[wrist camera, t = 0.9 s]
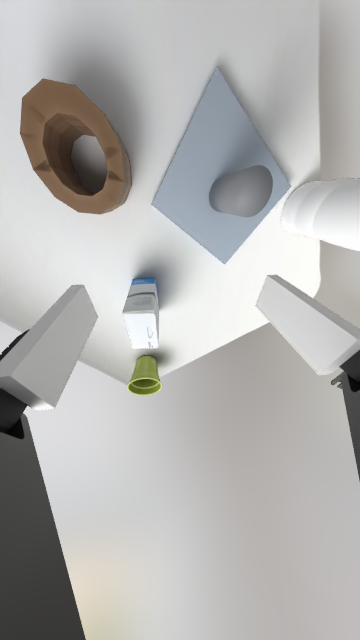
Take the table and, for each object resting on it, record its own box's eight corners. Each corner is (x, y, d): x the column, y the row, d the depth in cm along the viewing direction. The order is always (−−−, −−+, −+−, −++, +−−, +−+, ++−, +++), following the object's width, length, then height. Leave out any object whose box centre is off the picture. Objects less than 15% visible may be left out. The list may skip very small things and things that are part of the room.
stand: (151, 204, 23) (147, 207, 15) (212, 75, 17) (267, -51, 8) (222, 261, 30) (246, 286, 22) (284, 186, 24) (354, 180, 15)
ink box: (132, 278, 30) (120, 312, 21) (156, 277, 31) (155, 310, 22) (138, 312, 36) (131, 351, 27) (159, 311, 36) (159, 349, 27)
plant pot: (160, 350, 45) (160, 376, 39) (162, 367, 51) (163, 393, 44) (128, 353, 45) (123, 380, 38) (135, 370, 50) (131, 397, 44)
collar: (49, 178, 20) (17, 173, 16) (64, 84, 16) (25, 37, 12) (116, 224, 24) (106, 230, 20) (142, 158, 20) (137, 145, 16)
